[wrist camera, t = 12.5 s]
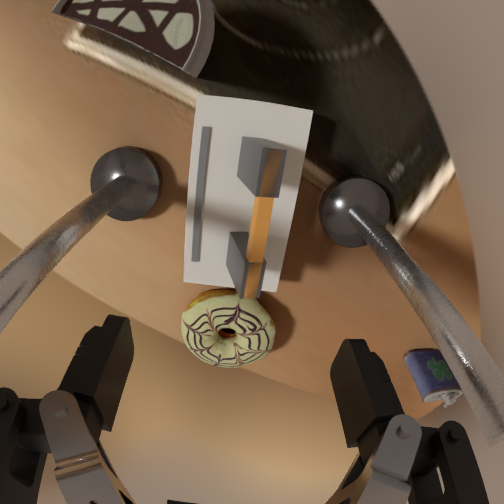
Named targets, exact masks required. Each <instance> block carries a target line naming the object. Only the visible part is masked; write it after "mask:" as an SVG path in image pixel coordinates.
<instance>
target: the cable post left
mask: <svg viewBox="0 0 504 504" xmlns="http://www.w3.org/2000/svg"><path fill="white" fill-rule="evenodd" d="M161 190H162V175H161V171H160V169H159V166H158V164H157V163H156V161H155V160H154V158H153V157H152V156H151V155H150V154H148V153H147V152H146V151H144V150H142V149H140V148H137V147H133V146H124V147H119V148H116V149H114V150H112V151H109V152H108V153H106V154H104V155H103V156H102V157H101V158H100V159H99V160H98V161H97V163H96V164H95V166H94V168H93V171H92V174H91V191H92V195H90V196H89V197H88V198H86V199H85V200H83V201H82V202H81V203H79V204H78V205H77V206H75V207H74V208H73V209H71V210H70V211H69V212H67V213H66V214H65V215H64V216H62V217H61V218H60V219H58V220H57V221H56V222H55V223H53V224H52V225H51V226H50V227H48V228H47V229H46V230H45V231H44V232H42V233H41V234H40V235H39V236H38V237H37V238H35V239H34V240H33V241H32V242H31V243H30V244H28V245H27V246H26V247H25V248H24V249H23V250H22V251H21V252H19V253H18V254H17V255H16V256H15V257H14V258H13V259H12V260H11V261H10V262H9V263H8V264H7V265H5V266H4V267H3V268H2V269H1V270H0V333H1V332H2V331H3V329H4V328H5V326H6V325H7V324H8V323H9V321H10V320H11V319H12V317H13V316H14V315H15V313H16V312H17V310H18V309H19V308H20V307H21V306H22V305H23V303H24V302H25V301H26V300H27V298H28V297H29V296H30V295H31V293H32V292H33V291H34V290H35V288H37V286H38V285H39V284H40V283H41V282H42V281H43V280H44V278H45V277H46V276H47V275H48V274H49V273H50V272H51V270H52V269H53V268H54V267H55V266H56V265H57V264H58V263H59V262H60V261H61V260H62V258H63V257H64V256H65V255H66V254H67V253H68V252H69V251H70V250H71V249H72V248H73V247H74V246H75V245H76V244H77V243H78V242H79V241H80V240H81V239H82V238H83V237H84V236H85V235H86V234H87V233H88V232H89V231H90V230H91V229H92V228H93V227H94V226H95V225H96V224H97V223H98V222H99V221H100V220H101V219H102V218H103V217H104V216H105V215H108V216H110V217H112V218H114V219H117V220H121V221H132V220H136V219H139V218H141V217H143V216H144V215H145V214H147V213H148V212H149V211H150V209H151V208H152V207H153V206H154V205H155V203H156V202H157V200H158V198H159V196H160V194H161Z"/></svg>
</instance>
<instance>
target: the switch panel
mask: <svg viewBox="0 0 504 504" xmlns="http://www.w3.org/2000/svg"><path fill="white" fill-rule="evenodd" d="M312 115H313V111H312V110H307V109H302V108H297V107H291V106H286V105H280V104H274V103H267V102H261V101H254V100H246V99H238V98H229V97H218V96H207V95H197V103H196V111H195V120H194V129H193V138H192V148H191V159H190V170H189V182H188V196H187V211H186V229H185V252H184V282H189V283H197V284H205V285H214V286H223V287H231V288H235V286H234V284H233V281H232V279H231V276H230V274H229V271H228V269H227V266H226V259H227V250H228V242H229V233H230V232H248V233H249V232H250V226H251V219H252V213H253V206H254V200H255V196H254V195H253V194H252V193H251V191H250V190H249V189H248V188H247V187H246V186H245V185H244V184H243V182H242V181H241V180H240V179H239V178H238V177H237V171H238V163H239V156H240V149H241V142H242V136H245V137H255V138H263V139H265V140H267V141H269V142H271V143H274V144H276V145H278V146H280V147H282V148H284V149H286V150H287V154H286V160H285V166H284V171H283V177H282V182H281V188H280V193H279V198H274V203H273V208H272V214H271V219H270V225H269V231H268V236H267V242H266V247H265V252H264V258H265V260H266V262H267V263H266V268H265V273H264V278H263V284H262V289H261V291H270V292H276V291H277V287H278V282H279V278H280V273H281V269H282V265H283V260H284V255H285V251H286V246H287V242H288V237H289V232H290V228H291V223H292V218H293V213H294V209H295V204H296V199H297V194H298V189H299V184H300V179H301V174H302V169H303V163H304V158H305V153H306V148H307V142H308V137H309V131H310V126H311V120H312Z"/></svg>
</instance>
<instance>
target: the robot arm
mask: <svg viewBox="0 0 504 504" xmlns="http://www.w3.org/2000/svg"><path fill="white" fill-rule="evenodd" d="M133 356H134V344H133V338H132V332H131V326H130V320H129V318H126V317H121V316H115V315H108V316H107V318H106V320H105V322H104V324H103V326H102V327H99V326H94V327H93V328H92V329H90V330H89V331H88V332H87V333H86V334H85V335H84V337H83V339H82V341H81V343H80V346H79V347H78V349H77V351H76V353H75V356H74V357H73V359H72V361H71V363H70V365H69V367H68V369H67V371H66V373H65V375H64V377H63V380H62V382H61V384H60V386H59V388H58V389H57V390H55V391H52V392H49V393H48V394H46V395H45V396H44V397H43V398H42V399H26V398H18V396H17V395H16V393H15V392H14V391H13V390H11V389H9V388H0V504H36V503H37V498H38V492H39V488H40V483H41V478H42V474H43V469H44V465H45V461H46V457H47V453H52V454H53V457H54V460H55V463H56V468H55V469H54V470H55V471H54V472H55V476H56V480H57V482H58V485H59V487H60V489H61V492H62V494H63V496H64V498H65V500H66V503H67V504H136V503H135V502H134V500H133V499H132V497H131V496H130V494H129V492H128V491H127V489H126V488H125V487H124V485H123V484H122V482H121V481H120V479H119V477H118V475H117V474H116V471H115V470H114V468H113V466H112V464H111V462H110V460H109V458H108V456H107V454H106V452H105V450H104V448H103V446H102V444H101V442H100V440H99V438H100V434H101V430H106V431H110V432H111V430H112V426H113V423H114V420H115V416H116V413H117V409H118V406H119V402H120V399H121V396H122V392H123V389H124V386H125V383H126V380H127V377H128V373H129V370H130V367H131V364H132V361H133ZM330 377H331V382H332V386H333V390H334V394H335V398H336V402H337V406H338V410H339V414H340V417H341V422H342V426H343V430H344V434H345V439H346V443H347V447H348V448H351V447H358V448H359V453H358V454H357V455H356V457H355V459H354V461H353V463H352V465H351V466H350V468H349V470H348V472H347V474H346V475H345V477H344V479H343V481H342V482H341V484H340V486H339V487H338V489H337V490H336V492H335V493H334V494H333V496H332V497H331V498H330V499H329V500H328V501H327V502H326V503H325V504H406V502H407V499H408V501H409V504H489V501H488V498H487V494H486V490H485V487H484V483H483V480H482V476H481V473H480V470H479V467H478V464H477V461H476V458H475V455H474V452H473V450H472V447H471V445H470V441H469V439H468V436H467V433H466V431H465V429H464V427H463V426H462V425H461V424H459V423H458V422H456V421H447V422H445V423H444V424H443V425H442V426H441V427H439V428H431V427H422V426H420V425H419V423H418V422H417V421H416V420H415V419H414V418H413V417H411V416H409V415H405V413H404V411H403V409H402V406H401V404H400V401H399V399H398V396H397V394H396V391H395V389H394V386H393V384H392V382H391V379H390V377H389V374H387V369H386V367H385V365H384V362H383V361H382V360H381V359H380V357H379V356H378V355H377V354H376V353H375V352H370V350H369V348H368V345H367V343H366V341H365V340H364V339H345V340H344V341H343V342H342V344H341V346H340V349H339V351H338V353H337V355H336V357H335V359H334V361H333V363H332V366H331V370H330ZM437 467H439V469H440V472H441V476H442V480H443V483H444V488H445V491H444V494H443V492H442V488H441V484H440V480H439V476H438V473H437V469H436V468H437ZM167 504H194V503H187V502H179V501H173V500H167ZM195 504H196V503H195Z"/></svg>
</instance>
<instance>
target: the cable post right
mask: <svg viewBox="0 0 504 504" xmlns="http://www.w3.org/2000/svg"><path fill="white" fill-rule="evenodd" d="M389 214H390V205H389V200H388V198H387V195H386V194H385V192H384V191H383V189H382V188H381V187H380V186H379V185H377V184H376V183H374V182H373V181H372V180H370V179H368V178H366V177H363V176H359V175H349V176H345V177H342V178H340V179H338V180H336V181H335V182H333V183H332V184H331V185H330V186H329V187H328V188H327V189H326V191H325V192H324V194H323V196H322V198H321V201H320V204H319V218H320V222H321V224H322V226H323V228H324V230H325V231H326V233H327V235H328V236H329V237H330V239H331V240H333V241H334V242H335V243H337V244H339V245H341V246H344V247H349V248H355V247H361V246H364V245H367V244H368V246H369V247H370V248H371V249H372V251H373V252H374V253H375V255H376V256H377V257H378V259H379V260H380V262H381V263H382V264H383V266H384V267H385V268H386V270H387V271H388V273H389V274H390V275H391V277H392V278H393V280H394V281H395V282H396V284H397V285H398V287H399V288H400V290H401V291H402V292H403V294H404V295H405V297H406V298H407V300H408V301H409V303H410V304H411V306H412V307H413V309H414V310H415V312H416V313H417V315H418V316H419V318H420V319H421V321H422V323H423V324H424V326H425V327H426V329H427V330H428V332H429V334H430V335H431V337H432V338H433V340H434V342H435V343H436V345H437V347H438V348H439V350H440V352H441V353H442V355H443V357H444V358H445V360H446V362H447V364H448V365H449V367H450V369H451V371H452V372H453V374H454V376H455V378H456V380H457V381H458V383H459V385H460V387H461V389H462V391H463V392H464V394H465V396H466V398H467V400H468V402H469V404H470V406H471V408H472V410H473V412H474V414H475V416H476V418H477V420H478V422H479V425H480V427H481V429H482V431H483V433H484V435H485V437H486V440H487V442H488V444H489V446H490V447H491V446H493V445H495V444H497V443H499V442H500V441H501V440H503V439H504V377H503V375H502V374H501V372H500V371H499V369H498V367H497V366H496V364H495V363H494V361H493V360H492V358H491V357H490V355H489V354H488V352H487V351H486V349H485V348H484V346H483V345H482V344H481V342H480V341H479V339H478V338H477V336H476V335H475V334H474V332H473V331H472V330H471V328H470V327H469V325H468V324H467V323H466V321H465V320H464V319H463V317H462V316H461V315H460V314H459V312H458V311H457V310H456V308H455V307H454V306H453V305H452V303H451V302H450V301H449V300H448V298H447V297H446V296H445V295H444V293H443V292H442V291H441V290H440V288H439V287H438V286H437V285H436V284H435V282H434V281H433V280H432V279H431V278H430V277H429V275H428V274H427V273H426V272H425V271H424V270H423V268H422V267H421V266H420V265H419V264H418V263H417V262H416V260H415V259H414V258H413V257H412V256H411V255H410V254H409V253H408V252H407V251H406V249H405V248H404V247H403V246H402V245H401V244H400V243H399V242H398V241H397V240H396V239H395V238H394V237H393V236H392V234H391V233H390V232H389V231H388V230H387V229H386V228H385V227H386V225H387V222H388V219H389Z"/></svg>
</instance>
